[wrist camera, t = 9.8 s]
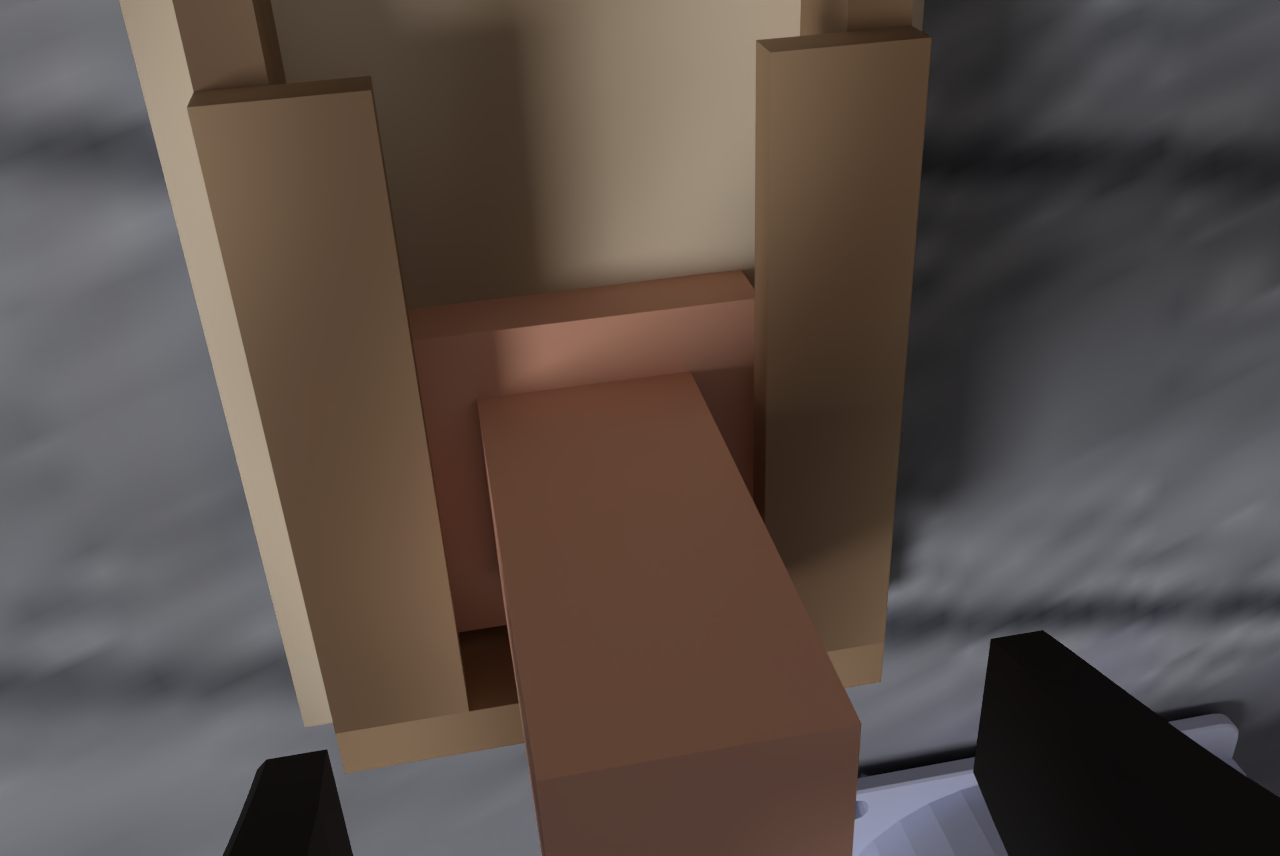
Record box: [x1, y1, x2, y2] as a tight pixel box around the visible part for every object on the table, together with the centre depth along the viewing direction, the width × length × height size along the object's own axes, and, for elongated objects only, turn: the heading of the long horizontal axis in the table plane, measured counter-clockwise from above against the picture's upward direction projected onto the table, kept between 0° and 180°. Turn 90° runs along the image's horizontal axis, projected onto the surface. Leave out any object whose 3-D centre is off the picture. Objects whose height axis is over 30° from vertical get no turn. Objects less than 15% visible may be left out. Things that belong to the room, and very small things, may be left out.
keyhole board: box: [119, 0, 932, 773], centre depth 15 cm, size 10×19×3 cm, turn 2°
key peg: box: [408, 270, 861, 856], centre depth 15 cm, size 5×5×8 cm
